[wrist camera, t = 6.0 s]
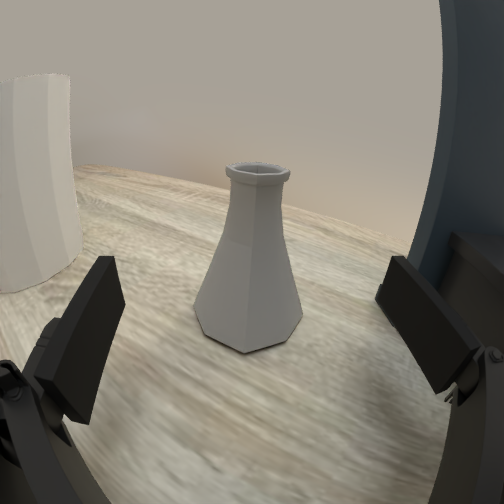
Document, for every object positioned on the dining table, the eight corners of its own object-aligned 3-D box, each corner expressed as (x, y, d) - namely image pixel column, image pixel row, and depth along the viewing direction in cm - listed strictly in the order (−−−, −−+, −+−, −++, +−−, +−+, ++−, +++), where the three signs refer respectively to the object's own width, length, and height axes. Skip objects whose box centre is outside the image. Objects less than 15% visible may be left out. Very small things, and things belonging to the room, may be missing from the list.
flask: (242, 373, 14) (254, 196, 9) (176, 306, 19) (164, 164, 14) (319, 317, 19) (351, 177, 14) (251, 273, 23) (260, 153, 18)
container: (64, 218, 31) (53, 92, 23) (105, 252, 24) (91, 66, 16) (-20, 257, 21) (-43, 119, 12) (-15, 314, 14) (-62, 104, 5)
